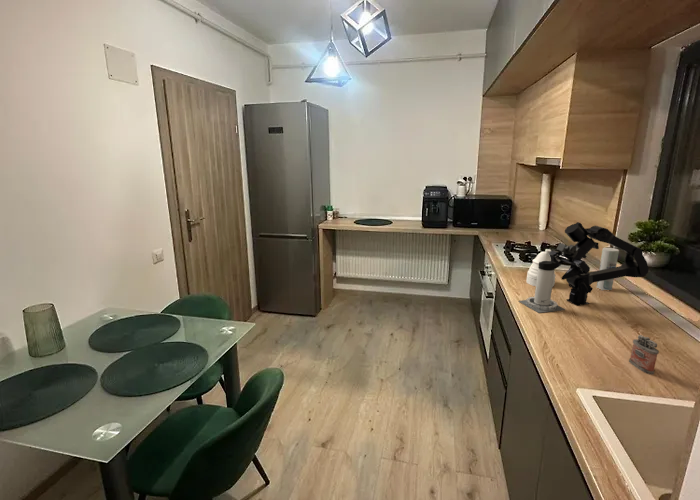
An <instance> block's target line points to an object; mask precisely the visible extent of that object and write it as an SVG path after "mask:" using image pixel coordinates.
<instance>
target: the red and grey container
mask: <svg viewBox="0 0 700 500" xmlns="http://www.w3.org/2000/svg"><path fill="white" fill-rule="evenodd" d="M657 347H658V343H657V342H655V341H653V340H652V339H651V338H650V337H648V336H644V335H643V334H642V335H641V334H638V336H637V339H633V340H632V348H631V354H630V358H629V359H628V362H629V363H630V364H631V365H632V366H634V367H635V368H637V370H639V371H641V372H643V373H645V374H647V375H654V374H655V367H656V363H657V357H658V355H659V352H660V351H659V350H658V349H657Z"/></svg>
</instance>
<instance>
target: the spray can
mask: <svg viewBox="0 0 700 500" xmlns="http://www.w3.org/2000/svg"><path fill="white" fill-rule="evenodd" d="M619 253H620V249H619V248H616V247H615V248H613V247H603V248H602V251H601V256H600V257H601V258H600V262H599V263H600V264H599V270H604V269H609V268H614V267H617V264H618V260H619V259H618V258H619ZM614 279H615V278H614ZM614 279H609V280H604V281H599V282H596V289H597V288H599V289H601V290H600V291H603V290H611V291H612V289H613V286H614V285H613V284H614ZM599 289H598V290H599Z"/></svg>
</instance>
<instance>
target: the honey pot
mask: <svg viewBox="0 0 700 500" xmlns="http://www.w3.org/2000/svg"><path fill="white" fill-rule="evenodd" d="M551 251H552V249H549V248H545V251H541V252H540V253H538V254H537V255H536V256H535V258H534V259H532V264H531V265H530V266H529V269H528V270H527V272H526V273H527V274H526V284H528V285H530V286H532V287H536V281H537V273H538V266H539V262H542V261H551V257H550V255H549V253H550V252H551ZM555 283H556V273H555V270H554V277H553V285H552V288H553V287H555Z"/></svg>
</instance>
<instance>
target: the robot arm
mask: <svg viewBox="0 0 700 500" xmlns="http://www.w3.org/2000/svg"><path fill="white" fill-rule="evenodd" d="M564 233H565V234H566V235H567V237H569V238H570V240H571V241H572V242H573V243H575V244H570V245H567V244H565V243H562V242H560V243H558V245H557V248H556V250H555V249H551V252H550V253H549V254H548V255H549V256H550V259H551V261H553V262H556V264H555V267H554V268H555V270H556V269H557V268H559V267H561V266H562V264H563V263H567V264H569V265H570V267H569V268H568V269H567V271H566V272H565V273H564V274H562V276H561V280H562V281H564V280H566V282H567V284H568V286H569V287H570V292H569V296H568V298H567V299H566V302H568V303H571V304H573V305H575V306H586V305H590V303H589V302H588V301H587V300H588V294H589V293H592V291H593V287H592V284H593V283H597V282H599V281H604V280H609V279H618V278H622V277H623V278H624V277H631V278H644V277H646V276H647V275H648V273H649V270H650V268H649V266H648V262H647V260H646V257H645V256H644V254H643V249H641V248H640V247H638V246H636V245H634V244H631V243H629V242H627V241H625V240H624V239H621V238H619V237H618V236H616V235H615V234H614V233H613V232H612V231H610V229H608V228H605V227H602V226H598V225H592V226H591V227H587V228H585V227H584V226H583V224H582V223H581V222H579V221H577V222H576V223H572V224H571V225H568V226H567V227H566V228H565V230H564ZM597 241H598V242H597ZM599 242H600V243H601V242H602V243H604V244H609V245H610V246H613V247H615V249H618V250H621V251H623V252H625V257H624V263H622V264H621V265H620V266H616V267H614V268H609V269H604V270H595V271H590V269H591V267H590V266H589V265H588V263H587V262H586V261H585V260H582V259H586V258H587V254H588V253H589V252H590V251H591V250H592V249H594V250H599V248H600V247H599Z"/></svg>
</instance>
